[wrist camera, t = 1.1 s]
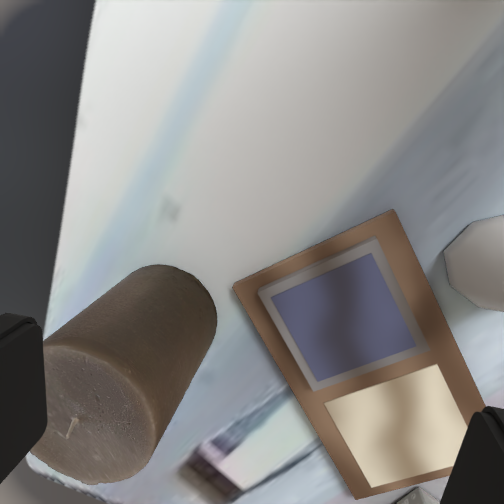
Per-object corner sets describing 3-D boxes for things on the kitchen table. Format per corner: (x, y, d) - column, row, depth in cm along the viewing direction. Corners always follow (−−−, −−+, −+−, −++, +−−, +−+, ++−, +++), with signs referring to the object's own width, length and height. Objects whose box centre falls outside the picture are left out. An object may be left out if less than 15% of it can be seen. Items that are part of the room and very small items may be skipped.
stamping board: (392, 208, 30) (398, 214, 28) (504, 450, 34) (516, 470, 32) (234, 282, 33) (229, 292, 31) (354, 490, 38) (356, 510, 36)
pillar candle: (207, 259, 33) (123, 355, 19) (225, 360, 36) (163, 510, 22) (104, 267, 35) (-42, 360, 21) (128, 363, 38) (12, 502, 24)
